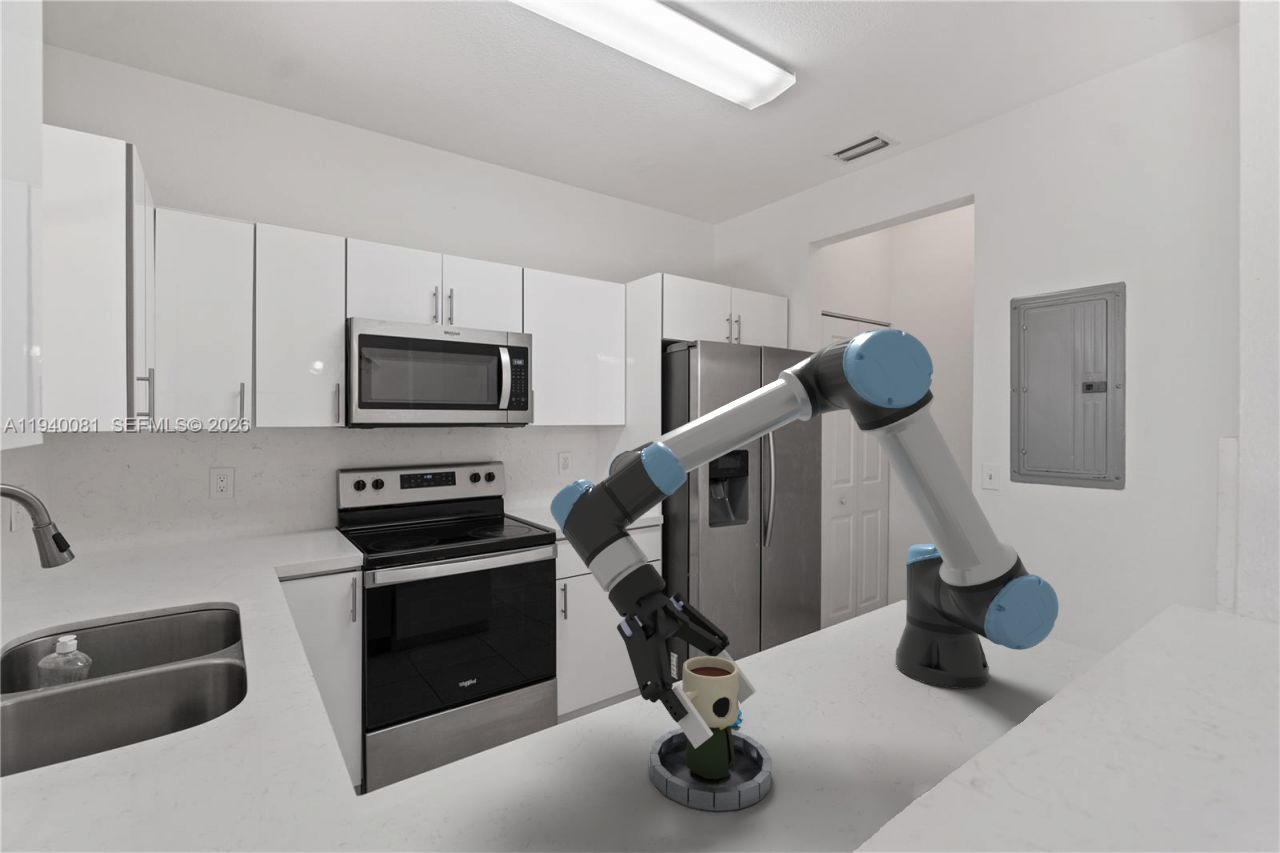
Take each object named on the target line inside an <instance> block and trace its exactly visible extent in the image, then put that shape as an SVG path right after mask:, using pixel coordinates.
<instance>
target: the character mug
mask: <svg viewBox="0 0 1280 853" xmlns="http://www.w3.org/2000/svg"><path fill="white" fill-rule="evenodd" d="M734 662H735V661H734ZM734 662H732V661H730V660H728V659H725V658H721V657H715V656H709V655H702V656H701V655H700V656H694V657H692V658H688V659H687V660H685V661H684V662H683V665H682V682H681V683H682V687H681V688H682V690H683V691H684V693H685V694H686V696H687V697H688V698H689V700H690V701H691V703H692V704H693V706H694V707H695V708H696V710H697V711H698V713H699V714H700V716H701V717H702V719H703V720H704V721H705V723H706V724H707V726H708V727H709V729H710V730H711V731H712V733H713V735H712V736H711V737H710V738H709V739H707V740H706V741H705V742H704V743H702V744H701V745H700V746H698V747H697V748H696V749H695V748H694V746H693V745H692V743H691V742H690V741H689V739H687V746H686V755H685V763H686V765H687V767H688V768H689V769H690V770H692V771H693V772H694V773H696V774H698V775H700V776H702V777H704V778H707V779H720V778H724V777H727V776H728V775H729V774H728V766H729V764H730V762H731V761H732V772H734V769H735V758H734V747H733V740H732V732H731V730H732V728H731V727H732V726H730V725H732V724H734V723H735V722H736V720H737V717H738V715H739V710H740V706H739V704H740V703H739V701H738V698H737V693H738V689H739V670H738V667H739V665H738V664H737V663H736V662H735V663H736V664H737V665H736V664H735V663H734Z"/></svg>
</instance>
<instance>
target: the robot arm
mask: <svg viewBox="0 0 1280 853" xmlns="http://www.w3.org/2000/svg"><path fill="white" fill-rule="evenodd" d="M933 366H934V364H933V360H932V358H931V355H930V353H929V351H928V350H927V348H926V346H925V345H924V344H923V343H922V341H920V340H919V339H918V338H917V337H916V336H914V335H913V334H910V333H908V332H906V331H905V330H904V331H903V330H900V329H895V328H883V329H873V330H867V331H865V332H862V333H859V334H856V335H853V336H850V337H848V338H844V339H842V340H838V341H834V342H832V343H829V344H828V345H826V346H824V347H823V348H820V349H819V350H818V351H817V350H816V351H815V352H814V353H813V354H811V355H809V356H808V357H806V358H805V359H803V360H801V361H799V362H798V363H795V364H794V365H792V366H791V367H789V368H786V369H784V370H782V371H781V372H779V375H778V378H777V380H775V381H772V382H770V383H769V384H766V385H764V386H762V387H761V388H758V389H755V390H754V391H752V392H750V393H748V394H745V395H743V396H741V397H739V398H737V399H735V400H733V401H731V402H729V403H727V404H725V405H723V406H721V407H719V408H717V409H715V410H712V411H711V412H709V413H706V414H704V415H702V416H700V417H698V418H696V419H694V420H692V421H689V422H687V423H686V424H685V423H684V425H681V426H679V427H677V428H675V429H673V430H670V431H669V432H666V433H664V434H663V435H661V436H658V437H657V438H653V439H652V440H651V441H649V442H646V443H644V444H642V445H640V446H638V447H636V448H634V449H631V450H625V451H623V452H621V453H619V454H616V456H615V457H614V458H613V459H612V461H611V463H610V465H609V469H608V477H606V478H605V479H603V480H602V481H600V483H597V484H596V485H595V484H594V483H593V482H591V481H590V480H588V479H586V478H584V479H583V478H581V479H577V480H574V481H573V482H572V483H571V484H570V483H569V484H567V485H565V486H564V487H563V488H562V489H561V490H559V491H558V492H557V493H556V495H555V496H554V497H553V499H552V501H551V503H550V508H549V509H550V513H551V516H552V517H553V519H554V520H555V522H556V523H557V525H558V527H559V528H560V531H561V533H562V534H563V535H564V537H565V538H566V540H567V542H569V544H570V545H571V547H572V548H573V550H574V551H575V552H576V554H577V555H578V556H579V558H580V559H581V560H582V562H583V563H584V565H585V567H586V568H587V569H588V570H589V571H590V574H592V577H593V578H594V579H595V581H596V583H597V584H598V585H599V586H600V588H601V590H602V591H603V592H604V593H608V595H607V596H608V597H607V599H608V600H609V601H610V603H611V605H612V606H613V607H614V609H615V610H616V611H617V613H618V615H619V617H622V618H624V619H622V621H620V622H619V624H617V625H616V629H617V631H618V633H619V635H620V637H621V638H622V640H623V641H624V644H625V648H626V651H627V654H628V657H629V660H630V662H631V667H632V670H633V674H634V676H635V679H636V680H635V681H636V683H637V686H638V689H639V692H640V695H641V698H642V699H643V700H645V701H648V700H649V701H650V702H651V703H653V704H654V703H656V702H658V700H659V701H660V703H662V705H663V707H664V708H665V710H666V711H667V712H668V714H669V715H670V718H672V719H673V721H675V723H677V724H678V726H679V727H680V728H681V729H682V730H683V732H684V733H685V735H686V736H687V738H688V739H689V741H690V742H691V743H692V745H693V746H694V748H695V749H696V748H697V747H698V746H700V745H701V744H702V743H704V742H705V741H706V740H707V739H709V738H710V737H711V736H712V735H713V733H712V731H711V730H710V729H709V727H708V726H707V724H706V723H705V721H704V720H703V719H702V717H701V716H700V714H699V713H698V711H697V710H696V708H695V707H694V706H693V704H692V703H691V701H690V700H689V698H688V697H687V696H686V694H685V693H684V691H683V690H682V687H681V686H680V684H677V685H675V686H674V684H673V679H672V673H671V668H670V662H669V657H668V656H669V655H668V651H667V645H666V639H669V638H670V637H671V638H679V639H681V640H682V641H684V642H685V643H687V644H689V645H690V646H691V647H692V646H693V647H694V648H695V649H697V650H699V651H701V652H702V653H703V654H705V655H706V656H715V657H721V658H725V659H728V660H730V661H732V662H734V663H735V664H736V665H737V666H738V664H737V663H736V662H735V661H734V659H733V657H732V656H731V655H730V653H729V652H728V651H727V650H726V648H728V647H729V646H730V645H731V643H730V641H729V636H728V635H727V634H726V633H725V632H724V631H722V630H721V629H720V628H719V627H718V626H717V625H716V624H714V623H713V622H711V620H710V619H709V618H707V617H706V616H705V615H703V613H701V612H700V611H699V610H698V609H697V608H695V607H694V606H692V604H690V602H688V600H687V599H686V598H685V597H684V596H683V594H682V593H681V592H679V591H676V592H675V593H674V594H673V595H672V596H671V597H670V598H669V597H667V595H665V593H664V589H665V587H666V581H665V579H664V578H663V577H662V575H661V574H660V573H659V572H658V570H657V569H656V568H655V566H654V565H653V564H652V563H648V560H649V559H648V557H647V555H646V554H645V552H644V551H643V550H642V548H641V547H640V546H639V544H638V543H637V542H636V540H635V539H634V537H632V536H631V534H630V533H629V532H628V531H627V527H629V526H630V525H632V524H634V523H635V522H636V521H637V520H638V519H640V518H641V517H642V516H644V515H646V513H648V512H650V511H651V510H652V509H653V508H654V507H656V506H657V505H659V503H661V502H663V501H664V500H665V499H667V497H669V496H672V495H674V493H675V492H676V490H678V489H679V488H681V486H682V485H683V484H684V483H686V482H687V479H688V476H687V473H689V472H691V471H693V470H695V469H698V468H700V467H701V466H703V465H706V464H708V463H710V462H712V461H714V460H716V459H718V458H720V457H722V456H725V455H727V454H728V453H730V452H732V451H734V450H736V449H739V448H741V447H743V446H744V445H747V444H748V443H751V442H753V441H755V440H758V439H759V438H761V437H763V436H765V435H768V434H769V433H772V432H773V431H776V430H777V429H779V428H781V427H784V426H785V425H787V424H790V423H792V422H794V421H796V420H800V421H803V422H807V421H809V420H811V419H813V418H816V417H818V416H819V415H820V416H821V415H823V414H827V413H832V412H835V411H843V410H844V411H845V410H849V411H850V414H851V416H852V417H853V420H854V421H855V423H856V424H857V426H858V429H859V430H860V432H862V433H864V434H865V433H866V434H868V435H873V437H875V438H876V441H877V442H878V444H879V446H880V447H881V449H882V451H883V453H884V455H885V457H886V459H887V460H888V462H889V464H890V467H892V470H893V471H894V473H895V475H896V478H898V481H899V482H900V485H901V486H902V488H903V490H904V491H905V494H906V495H907V497H908V500H909V501H910V503H911V504H912V507H913V508H914V510H915V512H916V514H917V515H918V517H919V519H920V521H921V523H922V525H923V527H924V529H925V531H926V532H927V534H928V536H929V538H930V539H931V542H932V543H919V544H918V543H917V544H913V545H911V546H910V547H909V548H908V549H907V550H908V551H907V557H906V563H905V567H906V616H905V617H906V619H905V622H906V623H905V627H904V629H903V631H902V633H901V636H900V639H899V643H898V646H897V647H896V649H895V650H896V651H895V666H896V665H897V666H896V668H897V667H898V668H899V669H900V670H901V671H900V670H899V669H898V668H897V669H898V670H899V671H900V672H901V673H903V674H904V673H905V675H906V674H907V675H906V676H908V677H910V676H911V677H910V678H912V677H913V679H915V680H917V679H918V681H920V680H921V681H920V682H923V681H924V682H923V683H926V684H930V685H934V684H935V685H934V686H939V687H944V688H951V689H975V688H976V689H977V688H980V687H984V686H986V685H987V684H988V683H989V680H990V666H989V663H988V661H987V657H986V655H985V652H984V648H983V645H982V642H981V639H980V637H979V636H981V637H983V638H984V639H986V640H989V641H990V642H991V643H993V644H994V645H998V646H1003V647H1005V648H1008V649H1011V650H1018V651H1019V650H1020V651H1021V650H1027V649H1031V648H1033V647H1036V646H1037V645H1039V644H1041V643H1042V642H1043V641H1044V640H1045V639H1047V637H1049V635H1050V634H1051V632H1052V631H1053V630H1054V627H1055V622H1056V620H1057V619H1058V616H1059V615H1058V614H1059V608H1060V607H1059V599H1058V595H1057V593H1056V591H1055V589H1054V587H1053V586H1052V585H1051V584H1050V583H1049V582H1048V581H1047V580H1045V579H1043V578H1042V576H1041V577H1040V576H1039V575H1036V574H1030V573H1029V572H1028V570H1027V568H1026V566H1025V565H1024V564H1023V561H1022V559H1021V558H1020V555H1019V554H1018V552H1017V550H1016V549H1015V547H1013V546H1012V545H1010V544H1009V543H1005V542H1001V541H999V539H998V538H997V537H998V536H997V535H996V534H995V532H994V530H993V528H992V527H991V524H990V523H989V521H988V519H987V517H986V515H985V513H984V512H983V509H982V507H981V505H980V503H979V502H978V500H977V498H976V496H975V494H974V492H973V491H972V489H971V487H970V485H969V483H968V481H967V480H966V478H965V476H964V474H963V472H962V470H961V468H960V466H959V465H958V463H957V460H956V459H955V457H954V455H953V453H952V451H951V450H950V447H949V446H948V444H947V442H946V440H945V438H944V437H943V436H944V435H942V432H941V431H940V429H939V427H938V425H937V424H936V421H935V420H934V417H933V415H932V414H931V411H930V410H931V409H930V408H932V404H933V402H934V400H935V396H934V395H933V393H932V390H931V389H930V387H931V386H932V382H933V379H932V378H931V376H932V375H933V373H934V367H933ZM738 670H739V689H738V693H737V698H738V703H739V704H742V703H744V702H745V701H746V700H748V699H749V698H750V697H751V696H752V695H754V694H755V693H756V692H757V690H756V688H755V687H754V685H752V683H751V682H750V681H749V679H748V677H747V676H746V675H745V674H744V673H743V671H742V670H741V669H740V667H739V666H738ZM985 684H986V685H985Z"/></svg>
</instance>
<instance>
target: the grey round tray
mask: <svg viewBox="0 0 1280 853" xmlns="http://www.w3.org/2000/svg"><path fill="white" fill-rule="evenodd" d="M731 732H732V740H733V747H734V758H735V769H734V772H732V761H731V762H730V764H729V766H728V774H729V775H728V776H727V777H724V778H720V779H707V778H704V777H702V776H700V775H698V774H696V773H694V772H693V771H692V770H690V769H689V768H688V767H687V765H686V763H685V755H686V746H687V739H688V738H687V736H686V735H685V733H684V732H683V730H682V729H681V727H680V728H676V729H674V730H671V731H668V732H666V733H664V734H663V735H662V736H660V737H659V738H657V739H656V740H654V742H653V745H652V747H651V749H650V751H649V769H648V770H649V773H650V779H651V781H652V783H653V785H654V786H655V787H656V789H657V790H658V792H660V793H661V794H663V796H665V797H666V798H668V799H669V800H670V801H672V802H674V803H676V804H679V805H681V806H684V807H687V808H689V809H693V810H698V811H703V812H710V813H711V812H713V813H728V812H735V811H739V810H744V809H746V808H750V807H752V806H754V805H756V804H757V803H759V802H761V801H762V800H763V799H764V798H765V797H766V796H767V795H768V793H769V791H770V790H771V787H772V786H771V784H772V764H773V763H772V757H771V756H770V754H769V753H768V750H766V748H765V746H763V745H762V744H761V743H759V742H758V741H757V740H755V739H753V738H752V737H750V736H749V735H747V734H744V733H742V732H738V731H736V730H734V729H731Z"/></svg>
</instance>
